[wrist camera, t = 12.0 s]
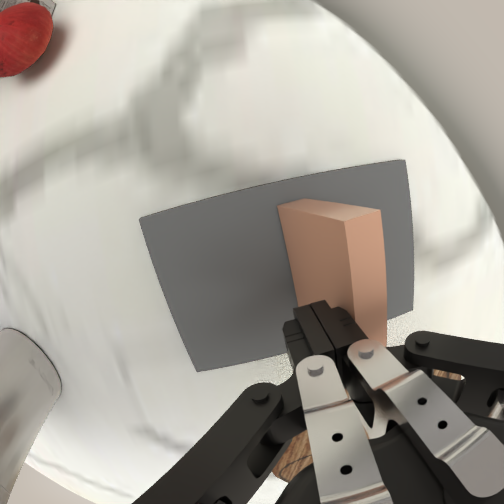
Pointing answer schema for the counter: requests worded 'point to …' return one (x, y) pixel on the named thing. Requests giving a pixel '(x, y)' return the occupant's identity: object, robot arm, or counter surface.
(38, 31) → the pomegranate
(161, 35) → the counter surface
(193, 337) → the mat
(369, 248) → the tile
